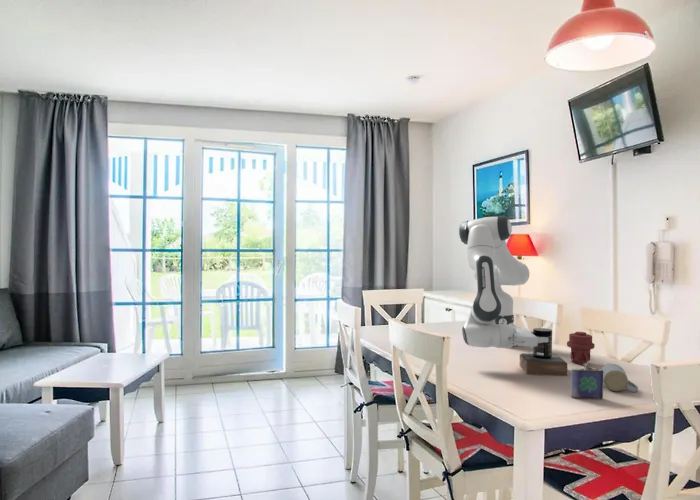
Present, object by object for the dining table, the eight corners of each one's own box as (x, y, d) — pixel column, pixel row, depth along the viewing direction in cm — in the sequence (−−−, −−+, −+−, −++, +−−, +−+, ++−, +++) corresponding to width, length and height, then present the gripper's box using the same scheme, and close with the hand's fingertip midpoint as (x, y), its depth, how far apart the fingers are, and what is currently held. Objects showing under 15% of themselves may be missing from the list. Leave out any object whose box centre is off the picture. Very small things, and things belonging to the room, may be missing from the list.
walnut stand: (519, 365, 196) (519, 352, 196) (557, 366, 194) (557, 354, 194) (527, 374, 183) (527, 360, 183) (567, 375, 181) (567, 361, 181)
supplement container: (552, 356, 190) (553, 328, 190) (550, 360, 184) (551, 331, 184) (534, 354, 193) (534, 327, 193) (531, 358, 187) (531, 330, 187)
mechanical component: (590, 361, 204) (597, 367, 195) (564, 359, 206) (569, 365, 197) (590, 330, 204) (597, 335, 194) (564, 329, 206) (570, 334, 196)
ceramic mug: (603, 391, 162) (604, 367, 162) (599, 384, 170) (600, 362, 170) (640, 395, 159) (641, 371, 159) (635, 388, 167) (636, 365, 166)
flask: (572, 398, 154) (573, 363, 154) (569, 395, 157) (570, 361, 157) (604, 399, 154) (604, 364, 153) (600, 397, 156) (600, 362, 156)
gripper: (512, 332, 180) (552, 333, 178) (501, 323, 200) (537, 324, 198) (511, 350, 180) (552, 351, 178) (501, 339, 200) (537, 340, 199)
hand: (544, 337), depth 189 cm, fingers open, 8 cm apart
